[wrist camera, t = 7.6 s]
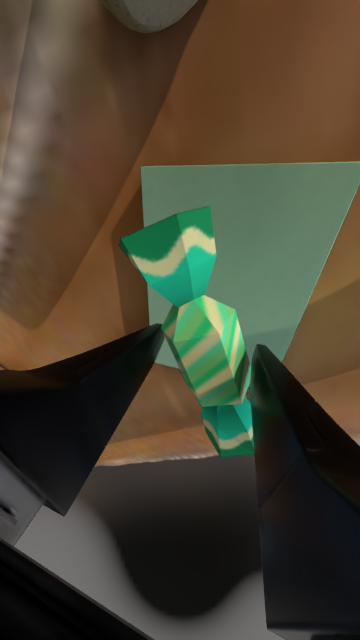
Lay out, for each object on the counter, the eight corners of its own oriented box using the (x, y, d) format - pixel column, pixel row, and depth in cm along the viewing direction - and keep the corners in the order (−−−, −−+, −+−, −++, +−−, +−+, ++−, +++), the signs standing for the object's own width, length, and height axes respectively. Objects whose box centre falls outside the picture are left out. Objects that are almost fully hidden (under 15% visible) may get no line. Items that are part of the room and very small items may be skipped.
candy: (117, 248, 8) (122, 231, 5) (181, 223, 9) (229, 192, 5) (197, 418, 13) (233, 478, 9) (236, 392, 14) (283, 439, 10)
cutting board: (356, 167, 9) (370, 161, 8) (267, 382, 17) (269, 392, 16) (148, 170, 12) (139, 166, 11) (156, 354, 20) (151, 362, 19)
